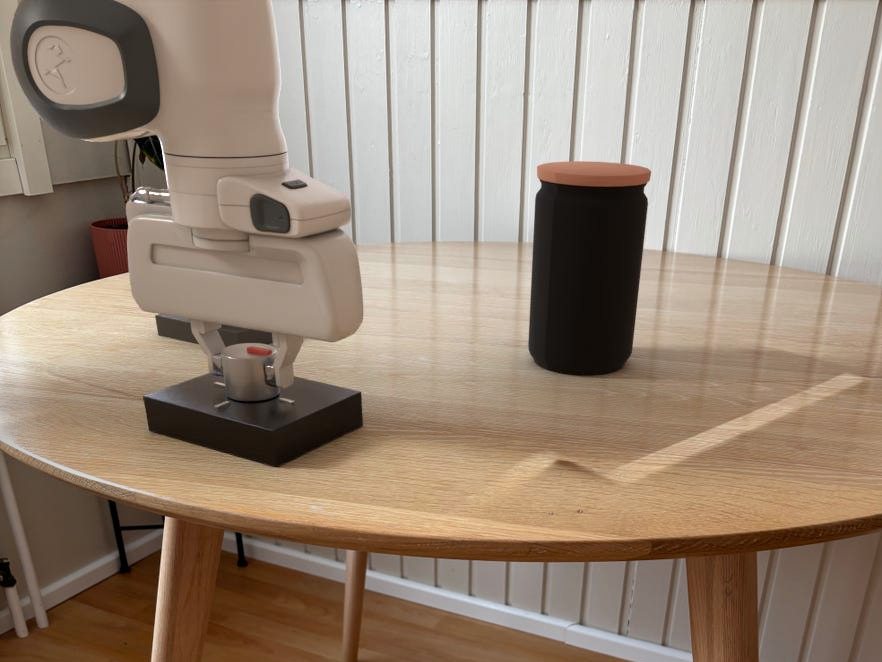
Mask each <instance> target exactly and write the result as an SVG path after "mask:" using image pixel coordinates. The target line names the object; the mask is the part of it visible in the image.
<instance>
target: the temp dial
mask: <svg viewBox="0 0 882 662" xmlns="http://www.w3.org/2000/svg"><path fill="white" fill-rule="evenodd" d="M277 353H278V350H277V349H276V347H275V346H274V345H271V344H268V345H267V344H260V343H243V344H236V345H231V346H228V347H226V348H224V349H222V350H221V359H222V367H223V375H224V382H225V390H226V395H227V396H228V397H229V398H231V399H233V400H238V401H249V402H250V401H262V400H267V399H271V398H274V397H276V396H277V395H279V393H280V388H278V387H273V386H269V385H267V382H266V378H267V375H266V373H265V365H267V364H269V363H273V362H274V361H275V359H276V356H277Z"/></svg>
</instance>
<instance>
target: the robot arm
mask: <svg viewBox="0 0 882 662" xmlns="http://www.w3.org/2000/svg"><path fill="white" fill-rule="evenodd" d="M9 31H10V33H9V51H10V58H11V63H12V68H13V72H14V74H15V77H16V80H17V83H18V85H19V87H20V89H21V91H22V93H23V95H24V97H25V98H26V100H27V102H28V103H29V106H31V108H32V109H33V110H34V112H35V113H36V114H37V115H38V116H39V117H40V118H41V120H43V122H45V123H46V124H47V125H48V126H50V127H51V128H52V129H54V130H55V131H57V132H58V133H59V134H62V135H64V136H66V137H69V138H73V139H77V140H83V141H86V142H93V143H107V142H115V141H122V140H127V141H128V140H135V139H140V138H146V137H150V136H151V137H152V136H154V137H155V136H156V137H157V138H158V140H159V142H160V147H161V151H162V158H163V165H164V172H165V178H166V179H165V180H166V184H167V185H166V186H167V188H161V189H159V188H154V187H151V186H139V187H138V188H136V191H135V192H134V193H132V194H131V195H130V196H129V198H128V201H127V202H126V203H125V214H126V221H127V226H128V227H127V234H126V248H127V249H126V250H127V265H128V267H127V268H128V278H129V286H130V293H131V296H132V298H133V300H134V301H135V303H136V304H137V306H138V307H139V309H140V310H141V311H143V312H146V313H150V314H156V315H158V314H163V315H169V316H175V317H181V318H187V319H190V323H191V330H192V333H193V335H194V337H195V338H196V340H197V341H198V343H199V344H198V345H199V346H200V348H201V350H202V351H203V353H204V355H206V358H207V366H208V373H210V374H211V375H214V376H221V377H224V375H223V367H222V359H221V350H222V349H224V348H226V347H225V345H224V343H223V341H222V339H221V337H220V335H219V333H218V331H217V329H220V328H221V327H222V325H221V324H223V325H229V326H235V327H241V328H247V329H253V330H260V331H266V332H272V340H273V343H272V346H273V347H279V348H278V350H277V356H276V359H275V361H274V362H273V363H269V364H267V365H265V373H266V375H267V378H266V382H267V385H269V386H273V387H278V388H283V389H285V388H287V387H289V386H291V385H292V384H293V382H294V376H295V375H294V363H295V360H296V359H297V356H298V354H299V352H300V351H301V348H302V346H303V344H304V339H309V340H313V341H314V340H315V341H320V342H326V343H337V342H339V341H342V340H344V339H348V338H349V337H351V336H354V334H356V333H357V331H358V330H359V329H360V327H361V325H362V323H363V320H364V314H365V313H364V312H365V311H364V295H363V285H362V284H363V283H362V273H361V266H360V260H359V254H358V252H357V248H356V245H355V242H354V241H353V239H352V238H351V236H350V235H349V234H348V233H347V232H346V231H345V230H344V229H342V227H345V226H347V225H349V223H350V222H351V219H352V204H351V200H350V199H349V197H348V196H347V195H346V194H344V193H343V192H341V191H339V190H337V189H335V188H333V187H332V186H331V187H330V186H329V185H328V184H325V183H323V182H321V181H319V180H317V179H316V178H313V177H311V176H310V175H308V174H307V173H304V172H302V171H301V170H299V169H297V168H295V167H293V166H290V164H289V150H288V143H287V140H286V136H285V134H284V131H283V128H282V123H281V120H280V96H281V92H282V90H281V89H282V85H283V84H282V83H283V81H282V80H283V79H282V77H283V76H282V68H281V57H280V47H279V40H278V31H277V24H276V18H275V10H274V4H273V0H20V2H19V3H18V5H17V7H16V9H15V11H14V13H13V17H12V20H11V26H10V30H9Z"/></svg>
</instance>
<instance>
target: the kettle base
mask: <svg viewBox="0 0 882 662" xmlns="http://www.w3.org/2000/svg"><path fill="white" fill-rule="evenodd" d="M154 317H155V325H156V329H157V336H159V337H163V338H168V339H172V340H177V341H181V342H186V343H191V344H195V345H199V343H198V341H197V340H196V338H195V337H194V335H193V333H192V330H191V323H190V319H187V318H181V317H175V316H169V315H163V314H155V315H154ZM221 325H222V327H221V328H220V329H217V331H218V333H219V335H220V337H221V339H222V341H223V343H224V345H225V347H228V346H231V345H236V344H243V343H260V344H267V345H271V344H273V340H272V332H266V331H260V330H253V329H247V328H241V327H235V326H229V325H223V324H221Z"/></svg>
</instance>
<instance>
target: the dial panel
mask: <svg viewBox="0 0 882 662" xmlns="http://www.w3.org/2000/svg"><path fill="white" fill-rule="evenodd" d="M362 395H363V394H362V391H359V390H356V389H352V388H348V387H343V386H338V385H334V384H329V383H325V382H321V381H317V380H312V379H306V378H303V377H299V376H295V375H294V382H293V384H292V385H291V386H289V387H287V388H285V389H283V388H280V393H279V395H277V396H276V397H274V398H271V399H267V400H262V401H250V402H249V401H238V400H233V399H231V398H229V397H228V396H227V395H226V390H225V382H224V377H221V376H214V375H211V374H210V372H208V373H205V374H203V375H199V376H195V377H194V378H191V379H187V380H185V381H182V382H179V383H177V384H173V385H170V386H167V387H164V388H162V389H159V390H156V391H154V392H151V393H148V394H145V395H142V399H143V404H144V410H145V411H144V412H145V416H146V421H147V427H148V431H149V432H152V433H155V434H159V435H163V436H166V437H169V438H173V439H176V440H181V441H183V442H186V443H190V444H194V445H197V446H201V447H205V448H208V449H210V450H211V449H212V450H215V451H218V452H222V453H226V454H228V455H232V456H235V457H238V458H239V457H240V458H243V459H247V460H250V461H253V462H257V463H261V464H264V465H267V466H271V467H274V468H279V467H280V466H282V465H283V466H284V465H285V464H287V463H289V462H291V461H293V460H295V459H297V458H299V457H301V456H303V455H306V454H308V453H309V452H311V451H314V450H316V449H318V448H320V447H322V446H324V445H325V444H328V443H330V442H333V441H334V440H336V439H338V438H340V437H342V436H345V435H347V434H349V433H351V432H353V431H355V430H357V429H359V428H361V427H363V426H364V417H363V416H364V415H363V396H362Z"/></svg>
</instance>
